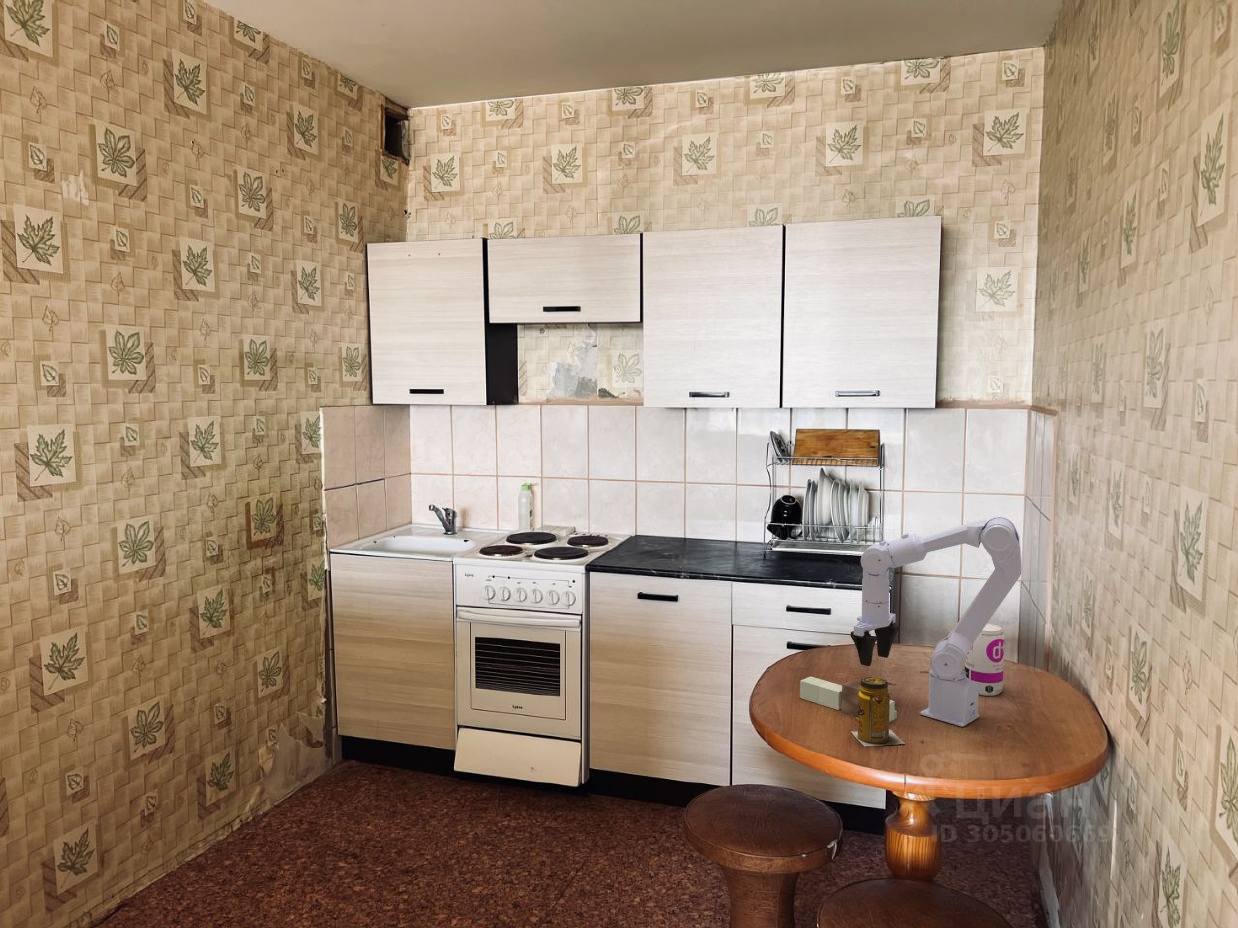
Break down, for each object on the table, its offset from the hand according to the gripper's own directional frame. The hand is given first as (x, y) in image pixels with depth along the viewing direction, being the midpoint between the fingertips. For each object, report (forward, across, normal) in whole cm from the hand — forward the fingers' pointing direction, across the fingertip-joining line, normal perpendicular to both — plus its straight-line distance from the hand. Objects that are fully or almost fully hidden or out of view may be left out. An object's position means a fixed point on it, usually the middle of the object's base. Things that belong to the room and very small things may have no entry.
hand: (874, 660), depth 189 cm
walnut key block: (+10, +6, -1) cm, 12 cm away
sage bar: (+10, +6, -3) cm, 12 cm away
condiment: (+10, +16, +10) cm, 21 cm away
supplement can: (+10, -25, +14) cm, 30 cm away
